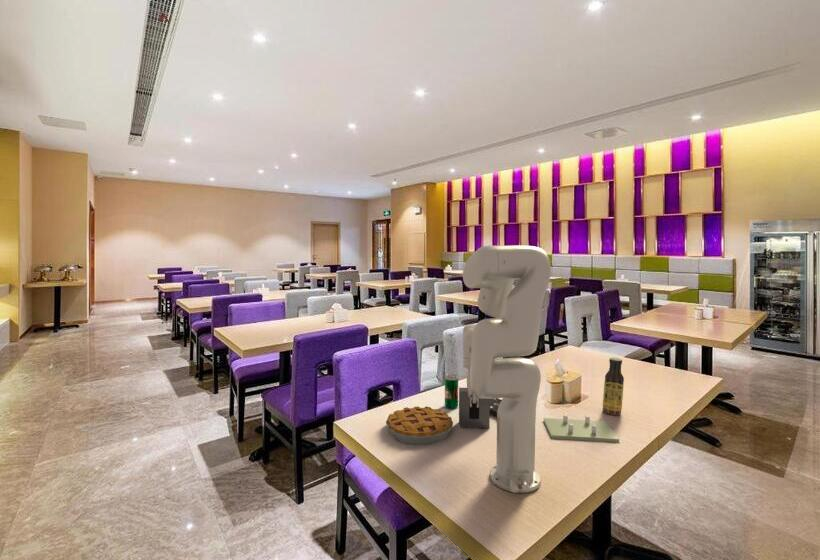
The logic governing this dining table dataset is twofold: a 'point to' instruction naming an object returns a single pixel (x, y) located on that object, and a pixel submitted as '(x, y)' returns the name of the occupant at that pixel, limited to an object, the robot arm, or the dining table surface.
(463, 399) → the dark grey thick block
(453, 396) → the soda can
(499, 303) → the robot arm
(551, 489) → the dining table surface
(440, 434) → the pie
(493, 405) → the disk drive
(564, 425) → the dock
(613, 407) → the sauce bottle
